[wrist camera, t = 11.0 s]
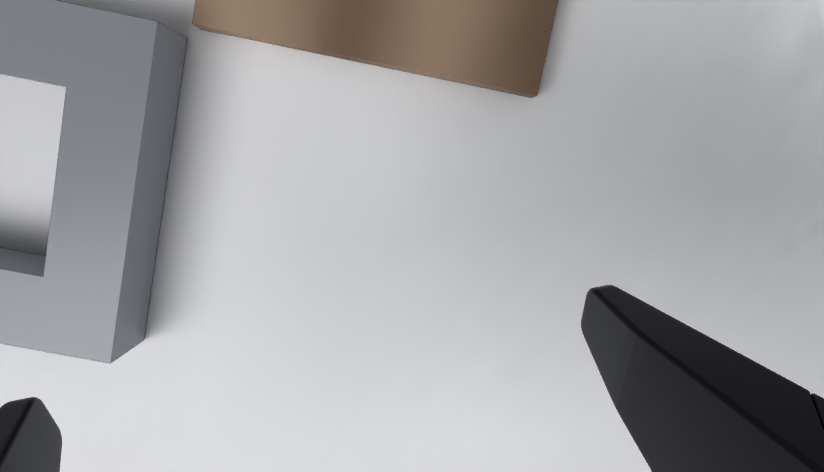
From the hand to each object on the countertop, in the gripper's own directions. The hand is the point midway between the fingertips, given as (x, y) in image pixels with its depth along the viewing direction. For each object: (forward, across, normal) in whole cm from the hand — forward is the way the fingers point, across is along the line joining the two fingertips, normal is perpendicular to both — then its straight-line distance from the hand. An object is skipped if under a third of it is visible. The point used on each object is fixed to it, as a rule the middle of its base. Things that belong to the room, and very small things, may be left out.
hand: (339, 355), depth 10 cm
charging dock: (+15, +10, +3) cm, 18 cm away
